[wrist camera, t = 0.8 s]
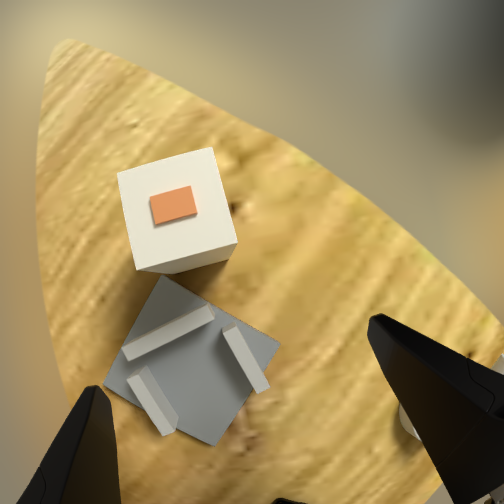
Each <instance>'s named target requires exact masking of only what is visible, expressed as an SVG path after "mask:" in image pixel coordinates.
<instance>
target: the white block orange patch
mask: <svg viewBox="0 0 504 504" xmlns="http://www.w3.org/2000/svg"><path fill="white" fill-rule="evenodd" d="M117 177H118V183H119V189H120V195H121V200H122V206H123V211H124V216H125V221H126V226H127V231H128V235H129V240H130V245H131V249H132V253H133V258H134V262H135V266H136V270H140V271H148V272H157V273H166V274H176V273H180V272H184V271H187V270H191V269H195V268H198V267H202V266H206V265H209V264H213V263H217V262H220V261H224V260H228V259H229V258H230V256H231V255H232V253H233V251H234V249H235V247H236V245H237V243H238V241H237V237H236V234H235V230H234V226H233V223H232V219H231V215H230V212H229V208H228V204H227V201H226V197H225V193H224V190H223V186H222V182H221V178H220V175H219V171H218V167H217V164H216V160H215V156H214V152H213V149H212V147H208V148H204V149H200V150H196V151H192V152H188V153H184V154H181V155H177V156H173V157H169V158H166V159H162V160H159V161H155V162H152V163H148V164H145V165H142V166H138V167H135V168H132V169H128V170H125V171H122V172H119V173H117Z"/></svg>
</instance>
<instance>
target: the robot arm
mask: <svg viewBox="0 0 504 504" xmlns="http://www.w3.org/2000/svg"><path fill="white" fill-rule="evenodd" d="M367 336H368V340H369V342H370V345H371V347H372V349H373V351H374V353H375V356H376V358H377V360H378V362H379V365H380V367H381V369H382V371H383V374H384V376H385V378H386V379H387V381H388V383H389V385H390V386H391V388H392V390H393V392H394V393H395V395H396V397H397V399H398V400H399V402H400V404H401V405H402V407H403V409H404V411H405V413H406V414H407V416H408V418H409V420H410V421H411V423H412V425H413V427H414V429H415V430H416V432H417V434H418V436H419V438H420V439H421V441H422V443H423V445H424V447H425V449H426V450H427V452H428V454H429V456H430V458H431V460H432V462H433V464H434V465H435V467H436V470H437V471H438V473H439V475H440V477H441V479H442V481H443V483H444V485H445V487H446V489H447V490H448V493H449V495H450V497H451V498H452V501H453V503H454V504H471V503H473V502H475V501H477V500H478V499H480V498H482V497H484V496H485V495H487V494H490V496H491V497H490V498H489V499H488V500H486V501H485V502H484V504H504V375H503V374H501V373H498V372H496V371H494V370H491V369H489V368H487V367H485V366H483V365H481V364H479V363H477V362H475V361H473V360H471V359H469V358H466V357H465V356H463V355H461V354H459V353H457V352H455V351H454V350H452V349H450V348H448V347H446V346H444V345H442V344H440V343H438V342H436V341H434V340H433V339H431V338H429V337H427V336H425V335H423V334H421V333H419V332H417V331H415V330H413V329H411V328H410V327H408V326H406V325H404V324H402V323H400V322H398V321H396V320H394V319H392V318H390V317H388V316H386V315H385V314H382V313H380V314H377V315H374V316H372V317H370V319H369V326H368V332H367ZM279 502H282V503H279ZM16 504H121V497H120V487H119V475H118V461H117V445H116V437H115V430H114V423H113V416H112V408H111V402H110V400H109V398H108V397H107V396H106V394H105V393H104V392H103V391H102V389H101V388H100V387H99V386H97V385H92V386H87V387H86V388H85V389H84V391H83V392H82V394H81V395H80V397H79V399H78V400H77V402H76V404H75V405H74V407H73V408H72V410H71V412H70V413H69V415H68V417H67V418H66V420H65V422H64V424H63V425H62V427H61V428H60V430H59V432H58V434H57V435H56V437H55V439H54V440H53V442H52V444H51V446H50V447H49V449H48V451H47V453H46V454H45V456H44V458H43V460H42V461H41V463H40V467H38V469H37V471H36V472H35V474H34V476H33V478H32V479H31V481H30V483H29V485H28V486H27V488H26V489H25V491H24V492H23V494H22V496H21V497H20V499H19V500H18V502H17V503H16ZM273 504H306V503H302V502H295V501H291V500H288V499H284V498H278V499H276V500H275V501H274V502H273Z"/></svg>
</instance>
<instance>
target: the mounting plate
mask: <svg viewBox="0 0 504 504" xmlns="http://www.w3.org/2000/svg"><path fill="white" fill-rule="evenodd" d="M279 346H280V343H279V342H278V341H277V340H275V339H273V338H271V337H269V336H268V335H266V334H264V333H262V332H260V331H259V330H257V329H255V328H253V327H251V326H250V325H248V324H246V323H244V322H243V321H241V320H239V319H237V318H236V317H234V316H232V315H230V314H229V313H227V312H225V311H223V310H222V309H220V308H218V307H216V306H215V305H213V304H211V303H210V302H208V301H206V300H205V299H203V298H201V297H200V296H198V295H196V294H195V293H193V292H191V291H190V290H188V289H186V288H185V287H183V286H181V285H180V284H178V283H177V282H175V281H173V280H172V279H170V278H168V277H167V276H165V275H161V276H160V278H159V280H158V282H157V283H156V285H155V287H154V289H153V290H152V292H151V294H150V296H149V297H148V299H147V301H146V303H145V305H144V306H143V308H142V310H141V312H140V314H139V315H138V317H137V319H136V321H135V323H134V325H133V326H132V328H131V330H130V332H129V334H128V336H127V338H126V339H125V341H124V343H123V345H122V347H121V349H120V351H119V353H118V355H117V357H116V359H115V361H114V362H113V364H112V366H111V368H110V370H109V372H108V374H107V376H106V378H105V380H104V382H103V385H105V386H106V387H108V388H109V389H111V390H112V391H114V392H115V393H117V394H119V395H120V396H122V397H123V398H125V399H126V400H128V401H130V402H131V403H133V404H135V405H136V406H138V407H140V408H141V409H143V410H145V411H146V412H147V414H148V415H149V417H150V418H151V420H152V421H153V423H154V424H155V426H156V427H157V428H158V430H159V431H160V433H161V434H162V436H165V435H168V434H170V433H173V432H175V429H176V428H177V429H179V430H181V431H183V432H185V433H187V434H189V435H191V436H193V437H195V438H197V439H199V440H201V441H204V442H206V443H208V444H210V445H212V446H214V447H215V445H216V444H217V443H218V441H219V440H220V438H221V437H222V435H223V434H224V432H225V431H226V429H227V428H228V426H229V425H230V423H231V422H232V420H233V419H234V417H235V416H236V414H237V413H238V411H239V410H240V408H241V407H242V405H243V404H244V402H245V401H246V399H247V398H248V396H249V394H250V393H251V391H252V390H253V388H254V389H255V391H256V393H257V394H258V393H260V392H262V391H264V390H266V389H268V388H270V385H269V383H268V381H267V379H266V377H265V375H264V374H263V372H264V371H265V369H266V367H267V366H268V364H269V362H270V361H271V359H272V357H273V356H274V354H275V353H276V351H277V349H278V348H279Z"/></svg>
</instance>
